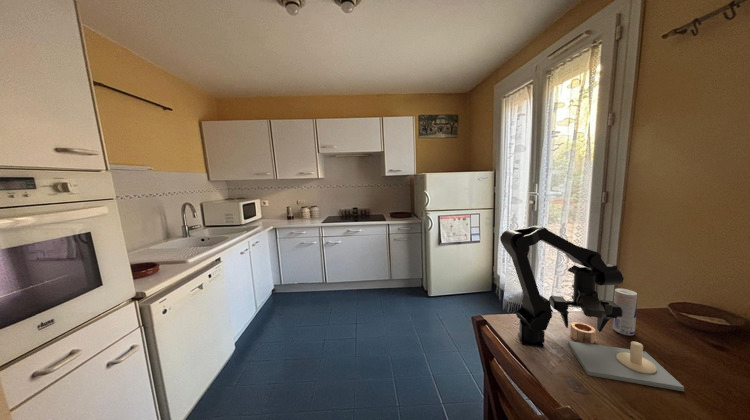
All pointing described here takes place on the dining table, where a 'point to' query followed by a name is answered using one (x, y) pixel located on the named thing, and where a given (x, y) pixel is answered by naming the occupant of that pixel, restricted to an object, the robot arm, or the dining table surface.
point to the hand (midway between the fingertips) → (582, 329)
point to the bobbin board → (623, 364)
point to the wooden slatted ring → (583, 333)
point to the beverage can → (625, 311)
